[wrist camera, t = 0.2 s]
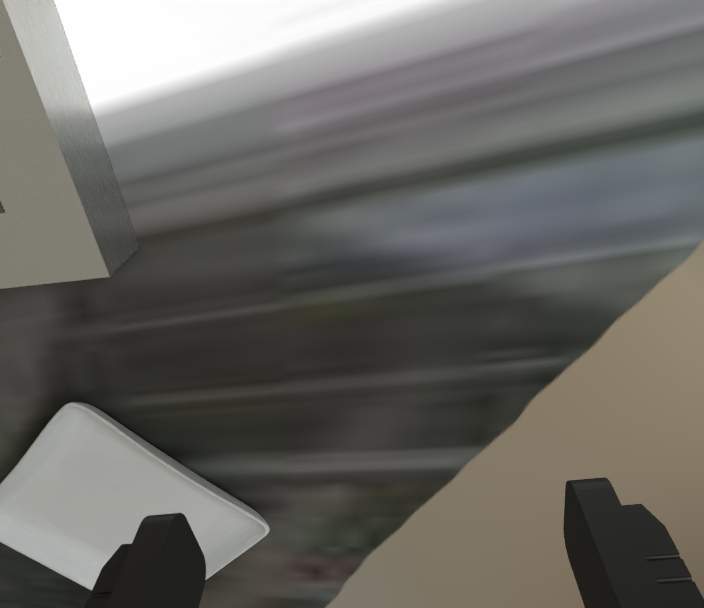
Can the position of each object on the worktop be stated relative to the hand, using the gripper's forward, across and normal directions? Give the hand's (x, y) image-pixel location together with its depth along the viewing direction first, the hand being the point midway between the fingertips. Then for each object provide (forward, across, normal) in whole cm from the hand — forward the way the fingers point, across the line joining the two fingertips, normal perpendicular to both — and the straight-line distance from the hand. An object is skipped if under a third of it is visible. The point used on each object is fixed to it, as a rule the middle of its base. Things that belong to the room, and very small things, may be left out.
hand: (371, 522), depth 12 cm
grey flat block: (+29, +26, -4) cm, 39 cm away
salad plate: (+28, +28, +30) cm, 50 cm away
